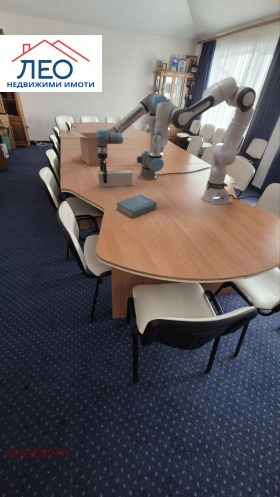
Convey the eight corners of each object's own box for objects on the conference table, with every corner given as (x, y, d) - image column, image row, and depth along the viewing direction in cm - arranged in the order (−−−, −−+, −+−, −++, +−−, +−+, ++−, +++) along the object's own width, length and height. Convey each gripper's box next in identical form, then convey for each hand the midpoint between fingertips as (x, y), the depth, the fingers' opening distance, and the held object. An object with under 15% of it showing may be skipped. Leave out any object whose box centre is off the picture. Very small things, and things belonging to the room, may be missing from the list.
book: (140, 200, 162) (140, 194, 160) (156, 208, 154) (157, 202, 151) (116, 209, 149) (116, 202, 146) (132, 218, 140) (132, 211, 137)
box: (116, 165, 229) (116, 136, 213) (83, 168, 214) (80, 137, 198) (102, 154, 259) (101, 128, 243) (71, 156, 244) (68, 129, 228)
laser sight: (156, 165, 238) (157, 155, 232) (135, 163, 241) (136, 153, 235) (157, 163, 245) (158, 153, 240) (137, 160, 248) (138, 151, 242)
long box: (99, 187, 180) (98, 173, 173) (98, 184, 184) (97, 171, 178) (132, 185, 187) (132, 172, 181) (130, 182, 192) (130, 170, 186)
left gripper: (110, 156, 159) (111, 185, 172) (104, 148, 178) (105, 174, 191) (100, 157, 157) (101, 185, 170) (95, 148, 176) (97, 175, 189)
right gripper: (160, 133, 129) (157, 158, 138) (171, 129, 145) (168, 152, 153) (150, 132, 131) (148, 156, 139) (161, 128, 146) (159, 150, 155)
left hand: (103, 180), depth 181 cm, fingers open, 13 cm apart
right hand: (158, 154), depth 146 cm, fingers open, 8 cm apart
